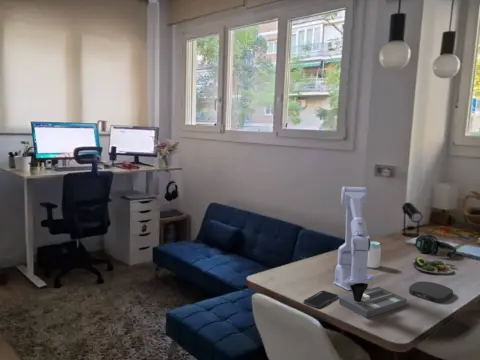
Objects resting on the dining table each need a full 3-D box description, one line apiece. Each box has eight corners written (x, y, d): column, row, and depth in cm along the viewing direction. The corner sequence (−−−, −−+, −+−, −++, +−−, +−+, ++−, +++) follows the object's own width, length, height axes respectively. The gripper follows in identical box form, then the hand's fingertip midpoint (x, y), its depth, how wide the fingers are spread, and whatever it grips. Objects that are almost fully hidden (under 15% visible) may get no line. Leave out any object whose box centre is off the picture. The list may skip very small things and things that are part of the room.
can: (382, 267, 208) (384, 244, 206) (371, 269, 205) (372, 245, 203) (373, 263, 214) (374, 240, 212) (361, 264, 211) (363, 241, 210)
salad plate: (447, 263, 216) (448, 254, 215) (463, 276, 198) (464, 267, 198) (408, 262, 217) (409, 253, 217) (420, 275, 200) (421, 265, 199)
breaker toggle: (358, 298, 165) (358, 294, 165) (362, 297, 166) (362, 292, 166) (365, 302, 162) (365, 297, 162) (369, 301, 163) (369, 296, 163)
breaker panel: (339, 303, 168) (339, 294, 167) (378, 292, 179) (378, 283, 178) (366, 318, 156) (366, 308, 155) (406, 305, 167) (406, 296, 166)
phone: (302, 301, 168) (322, 290, 179) (302, 304, 168) (322, 292, 179) (319, 307, 163) (339, 295, 173) (319, 310, 163) (339, 298, 174)
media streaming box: (455, 295, 177) (456, 288, 177) (440, 305, 168) (441, 298, 167) (421, 284, 188) (421, 278, 188) (405, 293, 178) (405, 287, 178)
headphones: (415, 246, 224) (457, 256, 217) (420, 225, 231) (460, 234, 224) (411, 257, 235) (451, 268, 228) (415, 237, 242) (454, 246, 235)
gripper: (353, 273, 153) (351, 309, 155) (381, 266, 161) (378, 300, 163) (339, 267, 159) (337, 302, 161) (366, 261, 167) (364, 294, 169)
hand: (357, 301), depth 163 cm, fingers closed
